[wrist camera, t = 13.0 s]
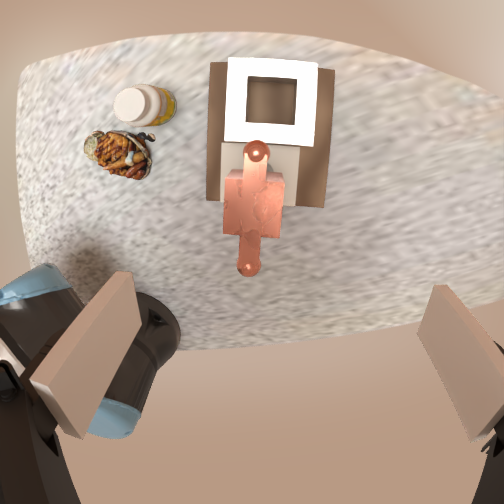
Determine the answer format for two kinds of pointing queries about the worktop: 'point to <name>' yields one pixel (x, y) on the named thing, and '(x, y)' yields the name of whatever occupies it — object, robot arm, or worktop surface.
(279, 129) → the eye block
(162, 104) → the supplement bottle
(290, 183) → the mat
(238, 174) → the copper link bar
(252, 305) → the worktop surface
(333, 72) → the board
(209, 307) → the worktop surface
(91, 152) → the brown mottled lumpy part
